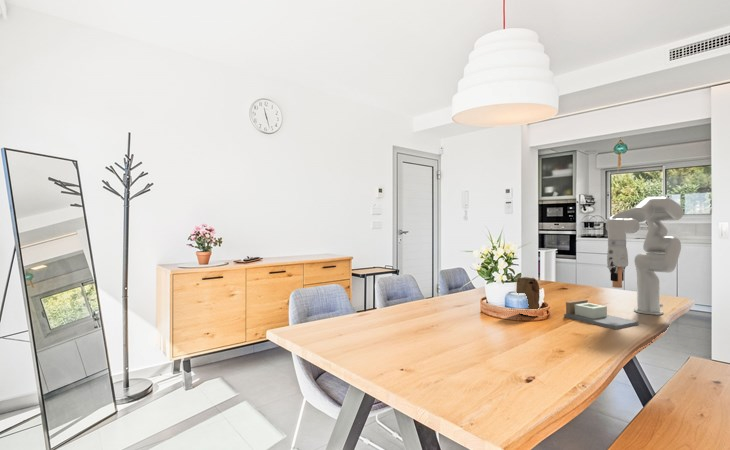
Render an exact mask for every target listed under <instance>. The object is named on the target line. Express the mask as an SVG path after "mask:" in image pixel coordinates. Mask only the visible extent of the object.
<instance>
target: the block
mask: <svg viewBox="0 0 730 450" xmlns="http://www.w3.org/2000/svg"><path fill="white" fill-rule="evenodd" d="M516 292H517V293H525V294H526V296H527V299H528V304H529V306H528V307H529V309H538V308H539V309H540V294H541V293H540V286H539V282H538V280H537V279H536V278H535V277H530V276H529V277H527V276H522V277H517V278H516Z"/></svg>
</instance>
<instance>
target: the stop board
mask: <svg viewBox="0 0 730 450" xmlns="http://www.w3.org/2000/svg"><path fill="white" fill-rule="evenodd" d="M582 303H589V302H588V299H579V300H571V301H566V302H565V312H566V313H564V314H563V316H564V318H567V319H571V320H575V321H578V322H579V321H580V322H583V323H587V324H592V325H596V326H600V327H604V328H609V329H613V330H619V329H624V328H629V327H633V326H634V327H635V326H638V325H639V321H637V320H633V319H628V318H623V317H619V316H615V315H610V314H607V316H606V317H601V318H595V319H592V318H588V317H584V316H579V315H575V305H576V304H582Z"/></svg>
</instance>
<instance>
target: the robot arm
mask: <svg viewBox="0 0 730 450" xmlns="http://www.w3.org/2000/svg"><path fill="white" fill-rule="evenodd" d="M683 216H684V210H683V207H682V206H681V205H680V203H677V202H676V201H675V200H673V199H672V198H669V197H667V196H661V197H659V196H658V197H656V196H655V197H647V198H643V199H641V200H640V201H639V202H638V203H637V204H636V205H634V206H633V207H632V208H628V209H625V210H623V211H620V212H617V213H616V214H614V215H613V214H612V216H611V217H610V218H608V219H607V221H606V223H605V230H606V231H607V247H608V248H607V252H606V253H607V254H606V264H607V265H606V268H608V270H609V273H610V282H612V281H618V273H617V267H622V282H623V281H624V280H625V279H624V277H625V276H624V273H625V269H626V268H627V267H628V266H629V256H628V249H627V235H628V234H629V235H630V234H635V233H637V232H639V230H640V227H641V224H640V223H642V222H644V221H645V222H646V224H647V229H648V230H647V233H646V235H645V240H644V242H643V245H642V246H643V247H642V248H643V250H644V252H641V253H637V254H636V255H635V256H634V265H635V272H636V291H637V292H636V296H637V297H636V299H637V305H636V306H637V307H635V308H633V311H634V312H635V313H639V314H644V315H652V316H654V315H656V316H659V315H663V314H664V310H661V309H660V308H663V307H664V305H663V304H662V303H661V302H660V300H661V299H660V277H659V276H658V275H657V274H656V273H672V272H674V271H675V269H676V268H677V265H678V260H679V258H680V254H681V249H682V244H681V241H680V239H679V238H678V237H677V236H668V232H669V231H668V228H667V227H666V226H665V225H664V224H663V223H662V222H663V221H664V222H665V221H679V220H681V219H682V218H683ZM661 221H662V222H661ZM614 268H615V269H614ZM655 272H656V273H655Z"/></svg>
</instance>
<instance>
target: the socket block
mask: <svg viewBox="0 0 730 450" xmlns="http://www.w3.org/2000/svg"><path fill="white" fill-rule="evenodd" d="M607 307H608V306H606V305H603V304H596V303H591V302H588V303H582V304H576V305H575V315H579V316H584V317H588V318H592V319H595V318H601V317H606V316H607V315H608V310H607V309H608V308H607Z"/></svg>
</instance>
